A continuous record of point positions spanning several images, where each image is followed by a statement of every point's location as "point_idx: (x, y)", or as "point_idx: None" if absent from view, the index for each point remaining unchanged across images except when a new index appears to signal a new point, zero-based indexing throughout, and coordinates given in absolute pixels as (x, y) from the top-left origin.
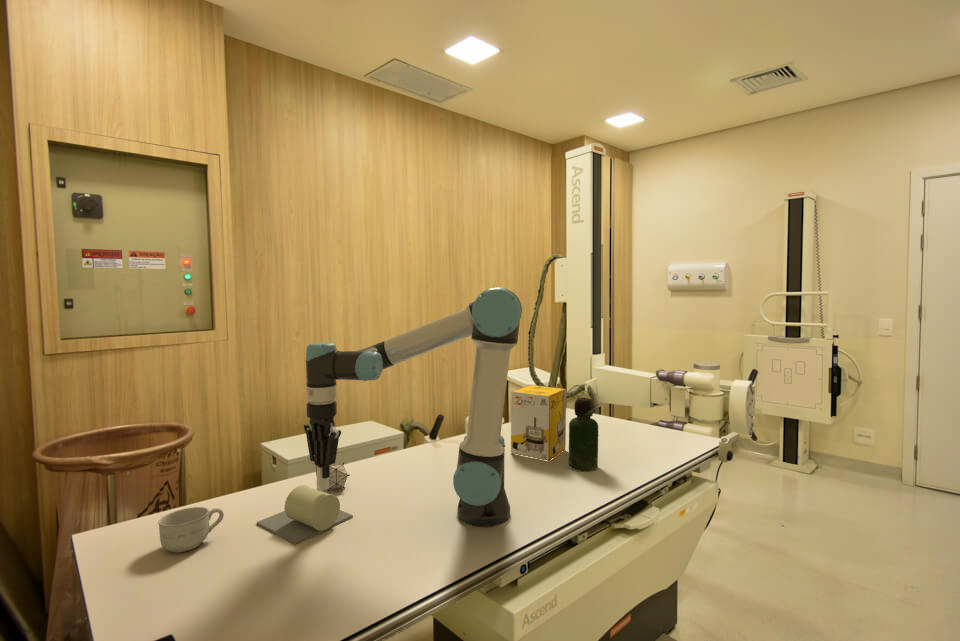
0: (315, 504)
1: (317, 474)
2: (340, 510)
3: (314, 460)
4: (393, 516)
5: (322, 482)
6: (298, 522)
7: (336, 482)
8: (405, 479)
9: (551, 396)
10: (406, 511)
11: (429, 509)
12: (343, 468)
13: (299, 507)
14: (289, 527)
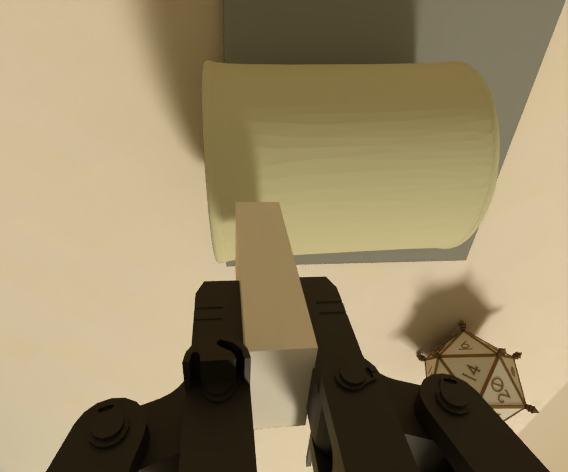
0: (216, 119)
1: (287, 281)
2: (300, 263)
3: (385, 400)
4: (109, 338)
5: (238, 255)
6: None
7: (441, 360)
8: (295, 467)
9: None
10: (107, 377)
11: (61, 417)
12: None
13: (344, 79)
14: (377, 41)
